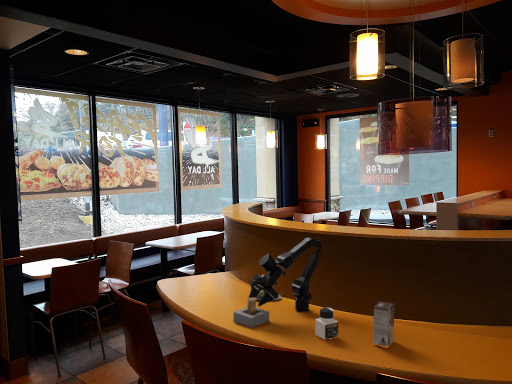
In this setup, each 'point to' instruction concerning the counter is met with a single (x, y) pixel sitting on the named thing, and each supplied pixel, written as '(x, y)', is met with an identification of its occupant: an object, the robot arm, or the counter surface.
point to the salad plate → (262, 296)
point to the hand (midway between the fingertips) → (253, 303)
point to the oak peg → (251, 306)
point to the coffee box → (383, 323)
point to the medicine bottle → (326, 324)
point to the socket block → (251, 317)
